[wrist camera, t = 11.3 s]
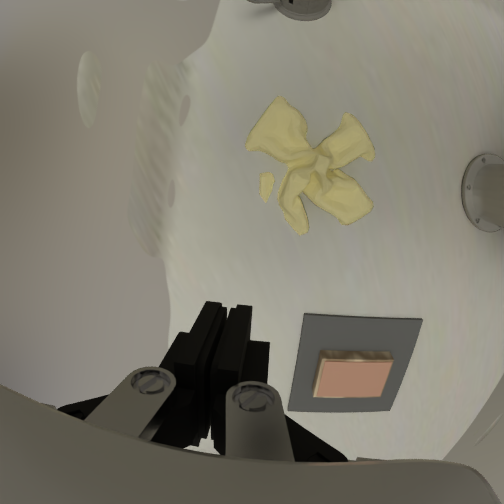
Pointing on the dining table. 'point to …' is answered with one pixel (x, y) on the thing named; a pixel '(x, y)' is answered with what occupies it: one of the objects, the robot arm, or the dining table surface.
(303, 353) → the mat
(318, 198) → the cloth
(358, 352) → the tile
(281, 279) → the dining table surface
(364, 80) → the dining table surface
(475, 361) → the dining table surface
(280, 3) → the glass holder
